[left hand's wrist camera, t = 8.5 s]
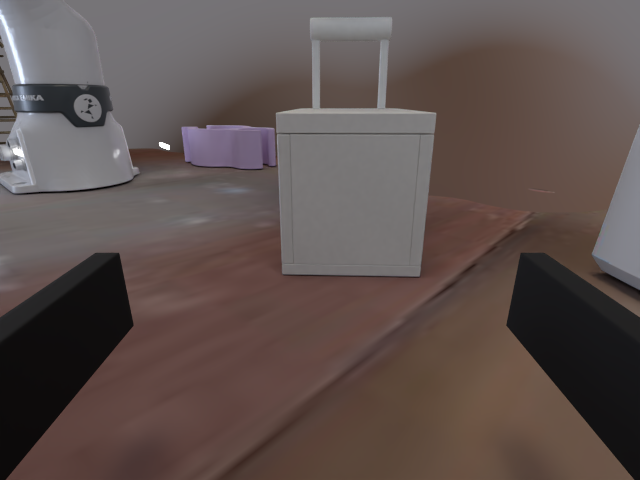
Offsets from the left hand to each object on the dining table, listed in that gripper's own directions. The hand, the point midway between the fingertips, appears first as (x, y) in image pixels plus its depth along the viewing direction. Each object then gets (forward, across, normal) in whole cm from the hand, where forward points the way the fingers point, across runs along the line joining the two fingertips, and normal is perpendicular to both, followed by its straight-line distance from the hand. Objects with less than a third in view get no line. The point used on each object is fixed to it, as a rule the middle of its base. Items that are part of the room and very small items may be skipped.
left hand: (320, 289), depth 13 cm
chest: (+22, +3, -6) cm, 23 cm away
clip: (+67, -18, -6) cm, 70 cm away
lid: (+23, +3, +4) cm, 23 cm away
